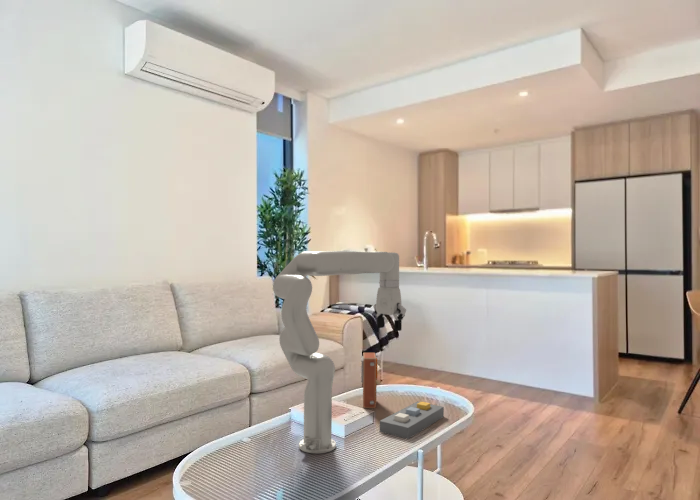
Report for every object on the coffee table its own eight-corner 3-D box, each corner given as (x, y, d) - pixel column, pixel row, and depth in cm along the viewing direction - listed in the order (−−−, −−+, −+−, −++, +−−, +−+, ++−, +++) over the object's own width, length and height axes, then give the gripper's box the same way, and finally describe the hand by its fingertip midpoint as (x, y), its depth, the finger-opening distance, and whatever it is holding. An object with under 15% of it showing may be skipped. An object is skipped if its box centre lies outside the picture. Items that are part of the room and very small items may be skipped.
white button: (403, 425, 178) (403, 417, 178) (394, 423, 181) (394, 415, 181) (409, 422, 181) (409, 414, 182) (399, 420, 184) (399, 412, 184)
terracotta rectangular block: (376, 399, 221) (377, 409, 206) (360, 398, 221) (361, 409, 206) (376, 352, 221) (377, 358, 206) (361, 351, 221) (361, 358, 206)
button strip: (408, 439, 173) (408, 427, 173) (379, 431, 180) (379, 420, 180) (443, 416, 197) (443, 406, 197) (417, 411, 204) (417, 401, 204)
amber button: (425, 413, 193) (425, 405, 193) (416, 411, 195) (416, 403, 195) (430, 410, 196) (430, 403, 196) (421, 408, 198) (421, 401, 198)
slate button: (415, 419, 186) (415, 411, 186) (406, 417, 188) (406, 409, 188) (420, 416, 189) (420, 408, 189) (410, 414, 191) (411, 406, 191)
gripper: (367, 283, 190) (367, 327, 190) (397, 286, 177) (397, 333, 177) (381, 283, 195) (381, 325, 195) (412, 285, 181) (412, 331, 181)
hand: (389, 329), depth 186 cm, fingers open, 9 cm apart
